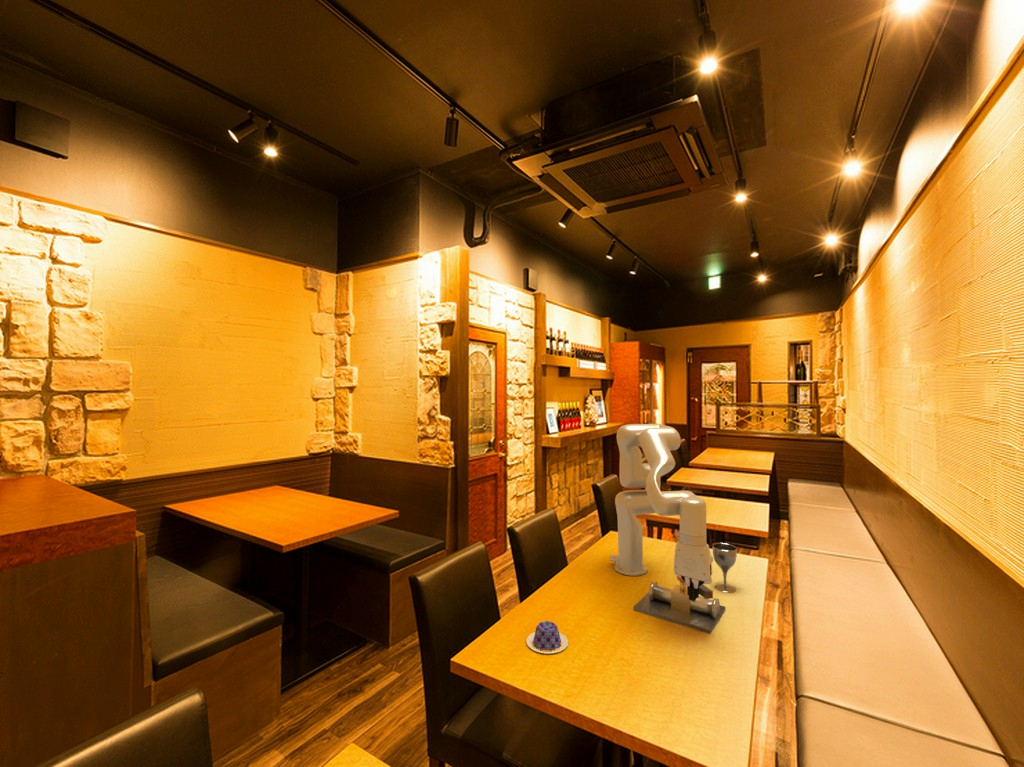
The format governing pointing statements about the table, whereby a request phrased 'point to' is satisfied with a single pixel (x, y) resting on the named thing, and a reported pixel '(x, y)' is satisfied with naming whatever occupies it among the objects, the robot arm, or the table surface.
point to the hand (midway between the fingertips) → (693, 598)
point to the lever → (701, 590)
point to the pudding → (547, 638)
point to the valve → (681, 607)
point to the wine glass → (724, 563)
